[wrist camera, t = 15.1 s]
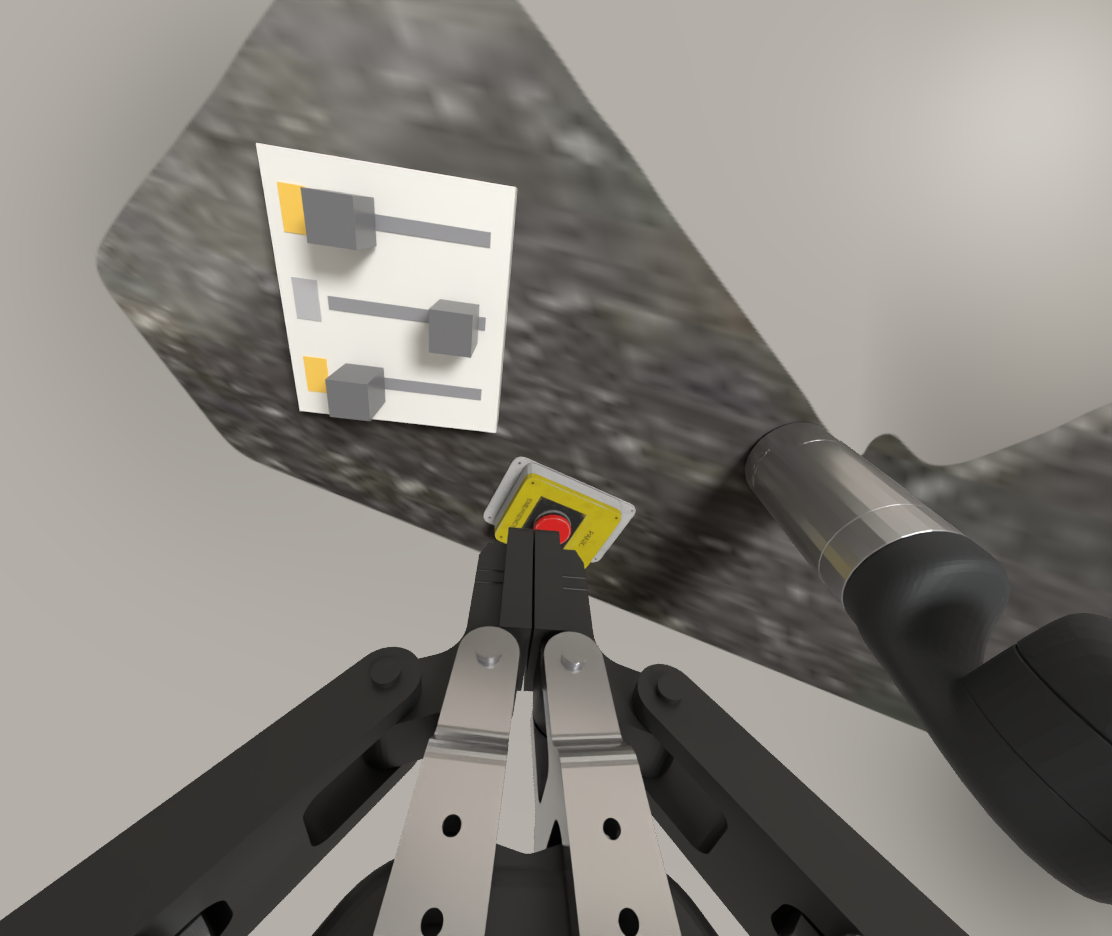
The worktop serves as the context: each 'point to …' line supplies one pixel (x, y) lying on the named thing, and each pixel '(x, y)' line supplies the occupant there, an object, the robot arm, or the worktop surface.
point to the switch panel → (394, 284)
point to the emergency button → (557, 509)
